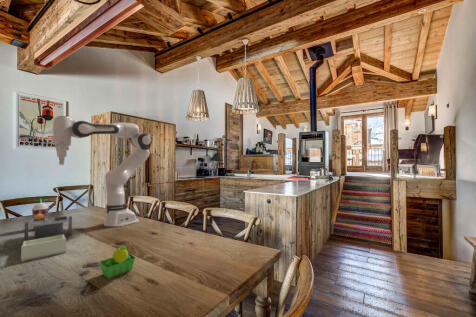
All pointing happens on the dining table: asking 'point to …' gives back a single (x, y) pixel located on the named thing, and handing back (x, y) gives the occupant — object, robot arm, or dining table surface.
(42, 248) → the bin
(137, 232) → the dining table surface
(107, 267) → the fruit basket
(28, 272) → the dining table surface
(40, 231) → the fulcrum stand
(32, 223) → the seesaw lever
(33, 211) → the smoothie
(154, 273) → the dining table surface
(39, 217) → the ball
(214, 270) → the dining table surface
